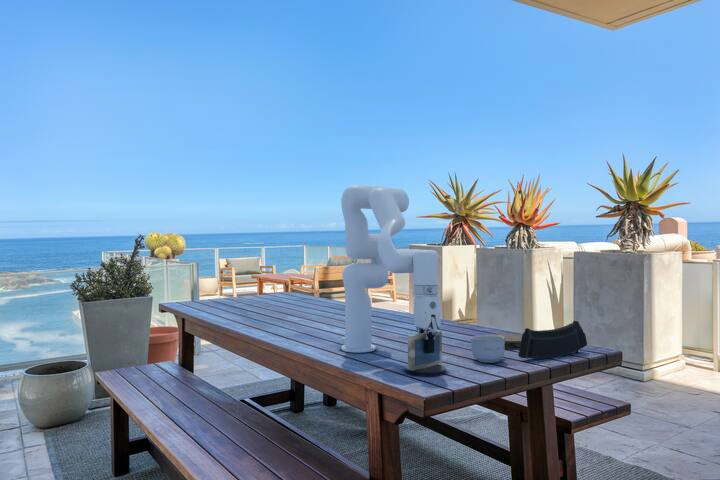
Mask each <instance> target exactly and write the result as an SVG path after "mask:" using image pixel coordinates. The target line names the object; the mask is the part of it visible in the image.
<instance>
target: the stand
mask: <svg viewBox="0 0 720 480" xmlns="http://www.w3.org/2000/svg"><path fill="white" fill-rule="evenodd" d="M446 370H447V368H446V366H445V365H442V364H436V365H432V366H429V367H425V368H421V369H417V370H413V371H411V370H408V364H407V365H405V373H407V374H409V375H412V376H416V377H439V376H443V375H445V374H446V372H447V371H446Z"/></svg>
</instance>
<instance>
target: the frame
mask: <svg viewBox="0 0 720 480" xmlns="http://www.w3.org/2000/svg"><path fill="white" fill-rule="evenodd" d="M437 330H438V333H437V334H436V335H435V340H434V353H424V340H425V333H420V334H417V333H414V334H409V335H407V365H408V370H411V371H413V370H417V369H421V368H425V367H429V366H432V365H436V364H439V365H441V364H443V330H440V329H437ZM429 332H430V331H428V333H429Z"/></svg>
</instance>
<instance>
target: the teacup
mask: <svg viewBox="0 0 720 480" xmlns="http://www.w3.org/2000/svg"><path fill="white" fill-rule="evenodd" d="M470 342H471V343H470V344H471V345H470V346H471V353H472V354H471V355H472V356H473V358H474V359H476V360H477V361H478V362H480V363H484V364H485V363H486V364H490V363H491V364H492V363H498V362H500V361H501V360H502V359H503V358H504V357H505V351H506V349H505V347H504V344H505V338H504V337H503V336H501V335H499V336H495V335H490V334H485V335H483V334H481V335H473V336H471V337H470Z"/></svg>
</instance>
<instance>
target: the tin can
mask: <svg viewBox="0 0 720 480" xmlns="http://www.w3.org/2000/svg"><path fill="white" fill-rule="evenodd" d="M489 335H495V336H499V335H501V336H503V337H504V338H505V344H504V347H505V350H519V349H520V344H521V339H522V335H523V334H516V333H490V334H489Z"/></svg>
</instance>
